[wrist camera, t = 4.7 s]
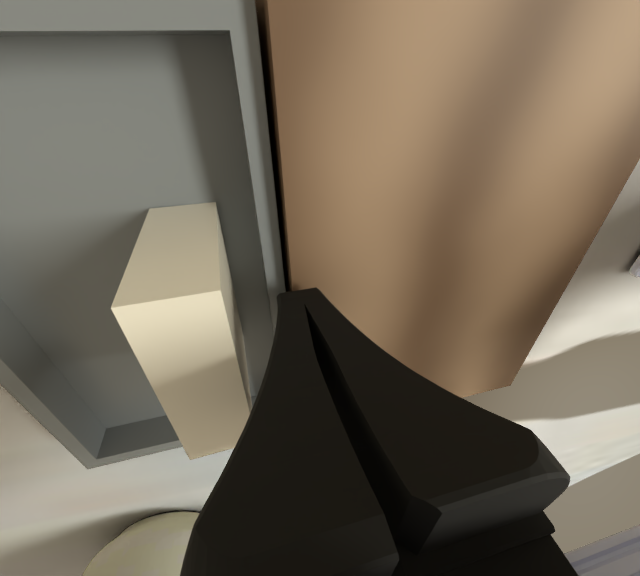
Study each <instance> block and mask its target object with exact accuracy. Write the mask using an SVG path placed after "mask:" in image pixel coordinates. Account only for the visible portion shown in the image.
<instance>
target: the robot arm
mask: <svg viewBox="0 0 640 576" xmlns="http://www.w3.org/2000/svg"><path fill="white" fill-rule="evenodd" d="M629 273H630V274H631V275H633V276H635V277H640V255H639V256H638V258H637V259H636V261H635V262H634V264H633V265H632V266H631V268H630V270H629ZM276 298H277V306H278V311H277V323H276V329H275V335H274V340H273V345H272V349H271V353H270V357H269V361H268V365H267V368H266V371H265V375H264V378H263V381H262V384H261V386H260V389H259V392H258V395H257V398H256V400H255V403H254V405H253V408H252V410H251V413H250V415H249V418H248V420H247V422H246V425H245V427H244V429H243V431H242V433H241V435H240V438H239V440H238V442H237V444H236V446H235V448H234V450H233V452H232V454H231V456H230V458H229V460H228V462H227V464H226V466H225V468H224V470H223V472H222V474H221V476H220V478H219V480H218V481H217V483H216V485H215V487H214V489H213V490H212V492H211V494H210V496H209V498H208V499H207V501H206V503H205V505H204V507H203V508H202V510H201V512H200V514H199V515H198V517H197V519H196V521H195V523H194V525H193V528H192V532H191V535H190V538H189V542H188V545H187V549H186V552H185V556H184V560H183V564H182V568H181V572H180V576H640V525H637V526H634V527H632V528H629V529H627V530H624V531H621V532H619V533H616V534H614V535H611V536H608V537H606V538H603V539H601V540H598V541H595V542H593V543H590V544H588V545H585V546H583V547H580V548H577V549H575V550H573V551H570V552H567V553H564V554H563V552H562V551H561V549H560V548H559V547H558V545H557V543H556V542H555V541H554V539H553V538H552V536H551V535H550V534H552V533H554V532H555V529H554V526H553V524H552V523H551V522H550V520H549V519H548V518H547V516H546V515H545V513H544V512H543V510H544V509H545V508H546V507H547V506H549V505H550V504H551V503H552V502H553V501H554V500H555V499H556V498H557V497H559V496H560V495H561V494H562V493H563V492H564V491H565V490H566V488H567V487H568V485H569V482H570V476H569V474H568V473H567V472H566V471H565V469H564V468H563V467H562V466H561V464H560V463H559V462H558V461H557V459H556V458H555V457H554V456H553V454H552V453H551V452H550V451H549V450H548V448H547V447H546V446H545V445H544V444H543V443H542V442H541V440H540V439H539V438H538V437H537V436H536V435H535V434H534V433H533V432H532V431H531V430H530V429H528V428H526V427H523V426H521V425H519V424H516V423H514V422H512V421H510V420H507V419H505V418H503V417H501V416H498V415H496V414H494V413H491V412H489V411H487V410H485V409H483V408H480V407H478V406H476V405H474V404H472V403H470V402H468V401H466V400H464V399H462V398H460V397H459V396H457V395H455V394H453V393H451V392H449V391H447V390H445V389H444V388H442V387H440V386H438V385H437V384H435V383H433V382H432V381H430V380H428V379H426V378H425V377H423V376H421V375H420V374H418V373H416V372H415V371H413V370H412V369H410V368H409V367H407V366H405V365H404V364H402V363H401V362H400V361H398V360H397V359H395V358H394V357H393V356H391V355H390V354H388V353H387V352H386V351H384V350H383V349H382V348H380V347H379V346H378V345H377V344H375V343H374V342H373V341H372V340H371V339H369V338H368V337H367V336H366V335H365V334H363V333H362V332H361V331H360V330H359V329H358V328H357V327H356V326H354V325H353V324H352V323H351V322H350V321H349V320H348V319H347V318H346V317H345V316H344V315H343V314H342V313H341V312H340V311H339V310H338V309H337V308H336V307H335V306H334V305H333V304H332V303H331V302H330V301H329V300H328V299H327V298H326V297H325V295H324V294H323V293H322V292H321V291H320V290H319V289H318V288H317V287H315V288H309V289H303V290H297V291H291V292H285V293H279V294H278V296H277V297H276Z"/></svg>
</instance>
